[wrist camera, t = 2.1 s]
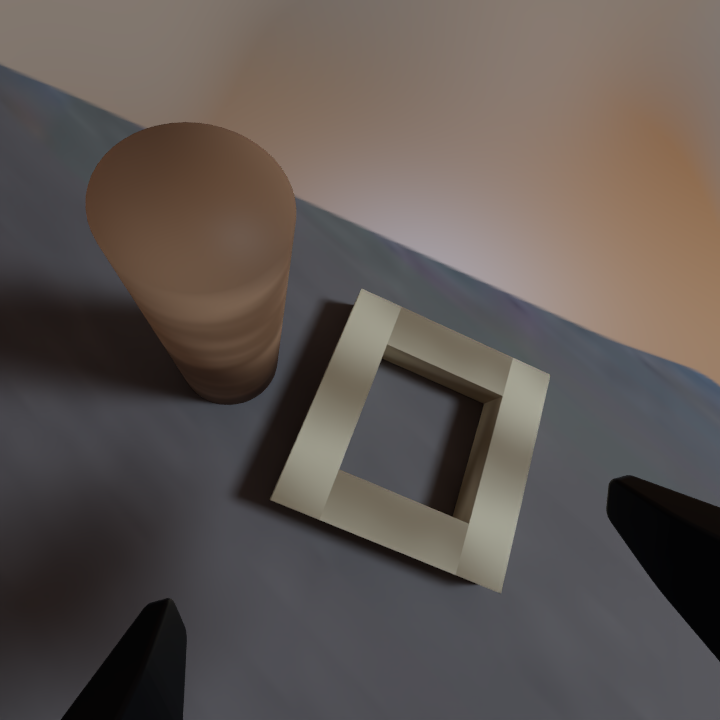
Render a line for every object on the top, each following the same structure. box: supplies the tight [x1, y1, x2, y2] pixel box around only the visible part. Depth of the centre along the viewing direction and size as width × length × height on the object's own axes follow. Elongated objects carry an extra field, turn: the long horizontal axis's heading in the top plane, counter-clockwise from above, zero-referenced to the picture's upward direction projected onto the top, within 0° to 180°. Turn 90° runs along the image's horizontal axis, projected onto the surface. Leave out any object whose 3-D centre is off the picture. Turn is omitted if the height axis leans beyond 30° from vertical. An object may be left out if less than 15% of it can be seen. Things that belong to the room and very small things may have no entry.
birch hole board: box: [270, 289, 550, 593], centre depth 22 cm, size 11×11×2 cm
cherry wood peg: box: [86, 122, 296, 405], centre depth 16 cm, size 5×5×12 cm
